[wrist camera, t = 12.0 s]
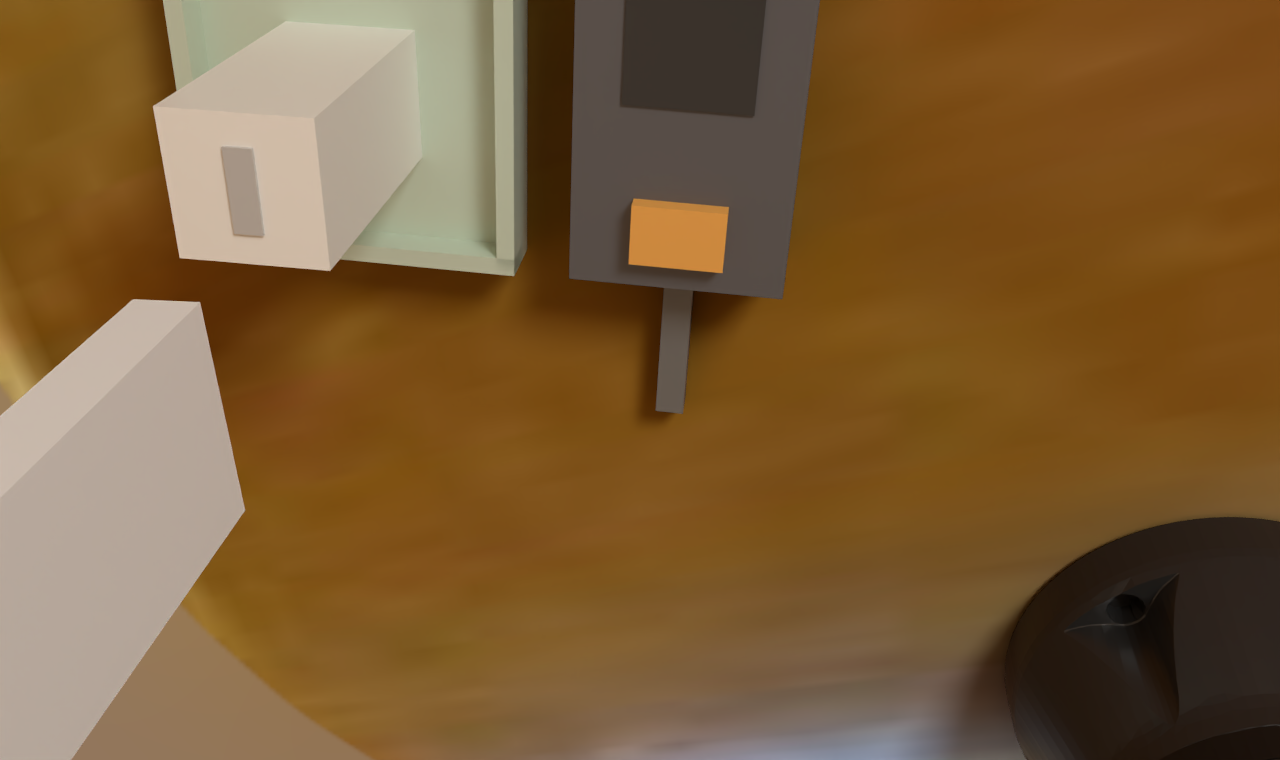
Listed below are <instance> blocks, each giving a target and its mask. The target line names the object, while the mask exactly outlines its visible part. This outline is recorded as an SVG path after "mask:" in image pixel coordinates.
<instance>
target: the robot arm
mask: <svg viewBox="0 0 1280 760" xmlns="http://www.w3.org/2000/svg"><path fill="white" fill-rule="evenodd" d="M244 511H245V508H244V503H243V499H242V494H241V489H240V485H239V480H238V476H237V471H236V466H235V462H234V457H233V452H232V448H231V443H230V438H229V434H228V429H227V425H226V420H225V415H224V411H223V406H222V401H221V397H220V392H219V387H218V383H217V378H216V374H215V369H214V364H213V360H212V355H211V350H210V346H209V341H208V336H207V332H206V327H205V323H204V318H203V313H202V309H201V304H200V302H185V301H162V300H139V299H133V300H132V301H130V302H129V303H128V304H127V305H126V306H125V307H124V308H123V309H121V310H120V311H119V312H118V313H117V314H116V315H115V316H113V317H112V318H111V319H110V320H109V321H108V322H107V323H105V324H104V325H103V326H102V327H101V328H100V329H99V330H97V331H96V332H95V333H94V334H93V335H92V336H91V337H89V338H88V339H87V340H86V341H85V342H84V343H83V344H81V345H80V346H79V347H78V348H77V349H76V350H75V351H73V352H72V353H71V354H70V355H69V356H68V357H67V358H66V359H64V360H63V361H62V362H61V363H60V364H59V365H58V366H56V367H55V368H54V369H53V370H52V371H51V372H50V373H48V374H47V375H46V376H45V377H44V378H43V379H42V380H40V381H39V382H38V383H37V384H36V385H35V386H34V387H32V388H31V389H30V390H29V391H28V392H27V393H26V394H24V395H23V396H22V397H21V398H20V399H19V400H18V401H17V402H15V403H14V404H13V405H12V406H11V407H10V408H9V409H7V410H6V411H5V412H4V413H3V414H2V415H1V416H0V760H71V759H72V758H73V757H74V755H75V753H76V752H77V751H78V749H79V748H80V746H81V745H82V744H83V742H84V741H85V739H86V738H87V736H88V735H89V733H90V732H91V731H92V729H93V728H94V726H95V725H96V724H97V722H98V720H99V719H100V718H101V716H102V715H103V713H104V712H105V711H106V709H107V708H108V706H109V704H110V703H111V702H112V701H113V699H114V698H115V696H116V695H117V693H118V692H119V690H120V689H121V687H122V686H123V685H124V683H125V682H126V680H127V679H128V678H129V676H130V674H131V673H132V672H133V670H134V669H135V667H136V666H137V665H138V663H139V662H140V660H141V659H142V657H143V656H144V655H145V653H146V652H147V650H148V649H149V647H150V646H151V644H152V643H153V642H154V640H155V639H156V637H157V636H158V635H159V633H160V632H161V630H162V629H163V627H164V626H165V624H166V623H167V622H168V620H169V619H170V617H171V616H172V614H173V613H174V611H175V610H176V609H177V607H178V606H179V604H180V603H181V602H182V600H183V599H184V597H185V596H186V594H187V593H188V591H189V590H190V589H191V587H192V586H193V584H194V583H195V581H196V580H197V579H198V577H199V576H200V574H201V573H202V571H203V570H204V569H205V567H206V566H207V564H208V563H209V561H210V560H211V558H212V557H213V556H214V554H215V553H216V551H217V550H218V548H219V547H220V546H221V544H222V543H223V541H224V540H225V538H226V537H227V536H228V534H229V533H230V531H231V530H232V528H233V527H234V525H235V524H236V523H237V521H238V520H239V518H240V517H241V515H242V514H243V513H244ZM1005 687H1006V693H1007V698H1008V703H1009V707H1010V712H1011V717H1012V721H1013V726H1014V731H1015V734H1016V737H1017V740H1018V742H1019V745H1020V747H1021V749H1022V752H1023V754H1024V756H1025V758H1026V760H1280V522H1277V521H1271V520H1264V519H1255V518H1239V517H1220V518H1204V519H1194V520H1187V521H1180V522H1175V523H1170V524H1165V525H1161V526H1157V527H1153V528H1149V529H1146V530H1143V531H1140V532H1137V533H1134V534H1131V535H1128V536H1126V537H1123V538H1120V539H1118V540H1116V541H1113V542H1111V543H1109V544H1107V545H1105V546H1103V547H1101V548H1099V549H1097V550H1095V551H1093V552H1091V553H1089V554H1088V555H1086V556H1085V557H1083V558H1081V559H1080V560H1078V561H1077V562H1075V563H1074V564H1072V565H1071V566H1069V567H1068V568H1067V569H1065V570H1064V571H1063V572H1062V573H1060V574H1059V575H1058V576H1057V577H1055V578H1054V579H1053V580H1052V581H1051V582H1050V583H1049V584H1048V585H1047V586H1046V587H1045V588H1044V589H1043V590H1042V591H1041V592H1040V593H1039V594H1038V595H1037V596H1036V598H1035V599H1034V600H1033V601H1032V603H1031V604H1030V605H1029V606H1028V608H1027V609H1026V611H1025V612H1024V614H1023V615H1022V617H1021V619H1020V621H1019V623H1018V624H1017V626H1016V628H1015V631H1014V633H1013V635H1012V638H1011V641H1010V644H1009V647H1008V651H1007V655H1006V662H1005Z"/></svg>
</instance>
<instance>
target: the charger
mask: <svg viewBox="0 0 1280 760" xmlns="http://www.w3.org/2000/svg"><path fill="white" fill-rule="evenodd" d="M153 109H154V115H155V121H156V126H157V132H158V138H159V143H160V149H161V155H162V160H163V166H164V172H165V177H166V183H167V189H168V194H169V200H170V206H171V211H172V217H173V223H174V228H175V234H176V240H177V245H178V251H179V257H180V258H185V259H197V260H209V261H220V262H232V263H244V264H255V265H267V266H279V267H291V268H302V269H314V270H326V271H331V269H332V268H333V267H334V266H335V265H336V263H337V262H338V261H339V260H340V258H341V257H342V256H343V255H344V253H345V252H346V251H347V250H348V248H349V247H350V246H351V245H352V244H353V242H354V241H355V240H356V239H357V237H358V236H359V235H360V234H361V232H362V231H363V230H364V229H365V227H366V226H367V225H368V224H369V223H370V221H371V220H372V219H373V218H374V216H375V215H376V214H377V213H378V211H379V210H380V209H381V208H382V206H383V205H384V204H385V203H386V202H387V200H388V199H389V198H390V197H391V195H392V194H393V193H394V192H395V190H396V189H397V188H398V187H399V185H400V184H401V183H402V182H403V181H404V179H405V178H406V177H407V176H408V174H409V173H410V172H411V171H412V169H413V168H414V167H415V166H416V164H417V163H418V162H419V161H420V160H421V158H422V144H421V127H420V110H419V93H418V76H417V59H416V42H415V30H408V29H393V28H379V27H364V26H349V25H335V24H320V23H305V22H291V21H285V22H284V23H282V24H281V25H279V26H278V27H276V28H274V29H273V30H271V31H270V32H268V33H267V34H265V35H264V36H262V37H260V38H259V39H257V40H256V41H254V42H253V43H251V44H249V45H248V46H246V47H245V48H243V49H242V50H240V51H239V52H237V53H235V54H234V55H232V56H231V57H229V58H228V59H226V60H224V61H223V62H221V63H220V64H218V65H217V66H215V67H214V68H212V69H210V70H209V71H207V72H206V73H204V74H203V75H201V76H200V77H198V78H196V79H195V80H193V81H192V82H190V83H189V84H187V85H185V86H184V87H182V88H181V89H179V90H178V91H176V92H175V93H173V94H171V95H170V96H168V97H167V98H165V99H164V100H162V101H160V102H159V103H157V104H156V105H154V106H153Z"/></svg>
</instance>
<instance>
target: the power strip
mask: <svg viewBox="0 0 1280 760" xmlns="http://www.w3.org/2000/svg"><path fill="white" fill-rule="evenodd" d="M819 2H820V0H575V29H574V75H573V121H572V166H571V212H570V258H569V279H578V280H589V281H599V282H609V283H620V284H630V285H640V286H651V287H661V288H664V294H663V309H662V323H661V338H660V353H659V368H658V383H657V397H656V411H662V412H672V413H682V414H683V409H684V402H685V393H686V381H687V368H688V356H689V344H690V332H691V320H692V308H693V295H694V291H702V292H713V293H723V294H734V295H744V296H754V297H765V298H775V299H782V298H783V290H784V282H785V274H786V266H787V258H788V250H789V242H790V234H791V226H792V218H793V210H794V202H795V194H796V186H797V178H798V170H799V162H800V154H801V146H802V138H803V130H804V122H805V114H806V106H807V98H808V90H809V82H810V74H811V66H812V58H813V50H814V42H815V34H816V26H817V18H818V10H819Z"/></svg>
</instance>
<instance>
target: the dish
mask: <svg viewBox="0 0 1280 760" xmlns="http://www.w3.org/2000/svg"><path fill="white" fill-rule="evenodd" d="M163 5H164V11H165V18H166V24H167V31H168V37H169V44H170V51H171V57H172V64H173V70H174V77H175V84H176V90H177V91H178V90H179V89H181V88H182V87H184V86H185V85H187V84H189V83H190V82H192V81H193V80H195V79H196V78H198V77H200V76H201V75H203V74H204V73H206V72H207V71H209V70H210V69H212V68H214V67H215V66H217V65H218V64H220V63H221V62H223V61H224V60H226V59H228V58H229V57H231V56H232V55H234V54H235V53H237V52H239V51H240V50H242V49H243V48H245V47H246V46H248V45H249V44H251V43H253V42H254V41H256V40H257V39H259V38H260V37H262V36H264V35H265V34H267V33H268V32H270V31H271V30H273V29H274V28H276V27H278V26H279V25H281V24H282V23H284V22H285V21H291V22H305V23H320V24H335V25H349V26H364V27H379V28H393V29H408V30H415V42H416V59H417V76H418V93H419V110H420V127H421V144H422V158H421V160H420V161H419V162H418V163H417V164H416V166H415V167H414V168H413V169H412V171H411V172H410V173H409V174H408V176H407V177H406V178H405V179H404V181H403V182H402V183H401V184H400V185H399V187H398V188H397V189H396V190H395V192H394V193H393V194H392V195H391V197H390V198H389V199H388V200H387V202H386V203H385V204H384V205H383V206H382V208H381V209H380V210H379V211H378V213H377V214H376V215H375V216H374V218H373V219H372V220H371V221H370V223H369V224H368V225H367V226H366V227H365V229H364V230H363V231H362V232H361V234H360V235H359V236H358V237H357V239H356V240H355V241H354V242H353V244H352V245H351V246H350V247H349V248H348V250H347V251H346V252H345V253H344V255H343V256H342V257H341V258H340V259H342V260H352V261H362V262H373V263H383V264H393V265H404V266H414V267H424V268H435V269H445V270H455V271H466V272H476V273H486V274H497V275H507V276H515V274H516V272H517V270H518V267H519V265H520V263H521V261H522V259H523V257H524V255H525V253H526V251H527V30H528V0H163Z"/></svg>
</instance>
